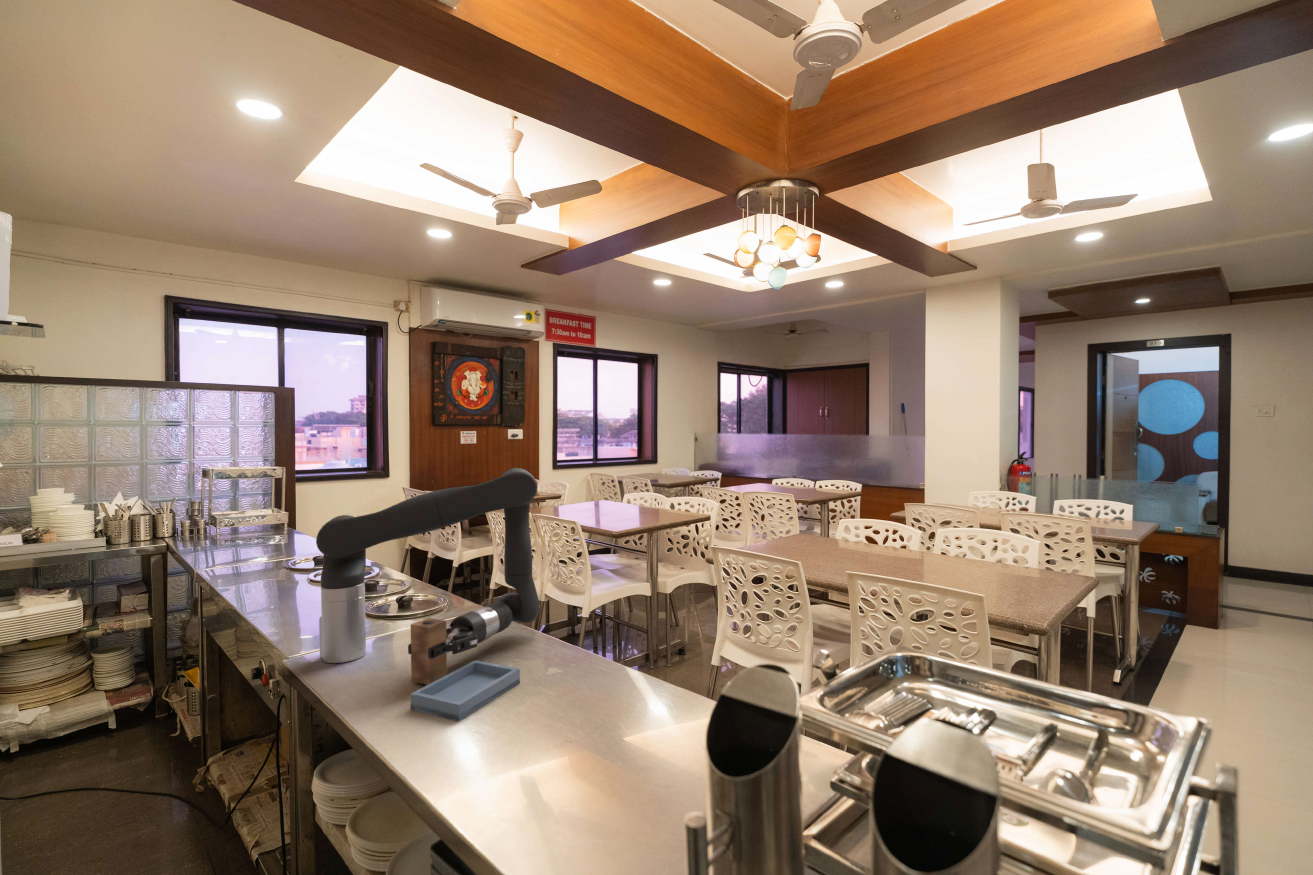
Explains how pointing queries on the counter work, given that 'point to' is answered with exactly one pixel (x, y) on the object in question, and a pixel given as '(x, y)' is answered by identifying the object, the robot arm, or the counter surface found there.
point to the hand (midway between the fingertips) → (419, 651)
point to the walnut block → (421, 640)
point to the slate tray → (465, 690)
